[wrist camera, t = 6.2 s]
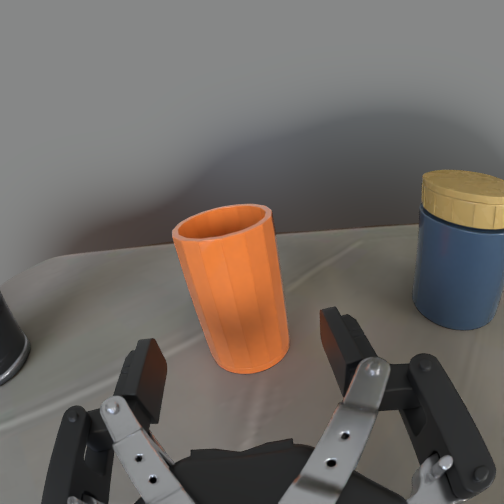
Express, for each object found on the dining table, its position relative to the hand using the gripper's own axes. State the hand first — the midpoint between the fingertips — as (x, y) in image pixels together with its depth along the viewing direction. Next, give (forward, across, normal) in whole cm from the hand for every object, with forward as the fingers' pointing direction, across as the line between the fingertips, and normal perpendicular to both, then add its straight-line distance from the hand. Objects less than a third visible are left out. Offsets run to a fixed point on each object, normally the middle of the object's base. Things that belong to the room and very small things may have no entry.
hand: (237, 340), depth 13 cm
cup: (+6, 0, +6) cm, 8 cm away
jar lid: (+5, -18, -4) cm, 19 cm away
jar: (+5, -18, +6) cm, 20 cm away
